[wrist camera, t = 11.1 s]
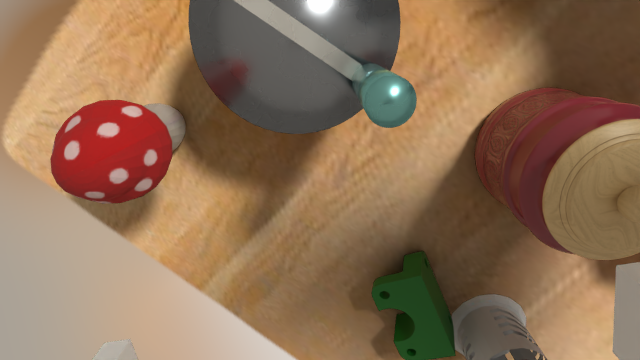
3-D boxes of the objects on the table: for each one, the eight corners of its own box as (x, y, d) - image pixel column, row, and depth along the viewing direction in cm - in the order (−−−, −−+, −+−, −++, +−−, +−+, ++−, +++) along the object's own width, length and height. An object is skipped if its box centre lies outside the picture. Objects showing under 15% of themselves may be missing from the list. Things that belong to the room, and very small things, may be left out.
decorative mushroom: (177, 69, 43) (104, 85, 29) (219, 144, 46) (171, 192, 31) (96, 112, 45) (-11, 147, 30) (142, 182, 47) (62, 244, 33)
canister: (460, 107, 44) (543, 150, 27) (587, 68, 43) (757, 89, 26) (483, 217, 48) (568, 313, 31) (600, 185, 47) (755, 267, 30)
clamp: (382, 255, 55) (362, 271, 46) (428, 244, 52) (415, 259, 44) (411, 347, 54) (396, 380, 45) (458, 339, 51) (451, 373, 43)
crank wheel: (181, 57, 40) (72, 73, 22) (269, -110, 35) (217, -249, 18) (328, 151, 42) (329, 228, 25) (426, 6, 38) (509, -20, 21)
